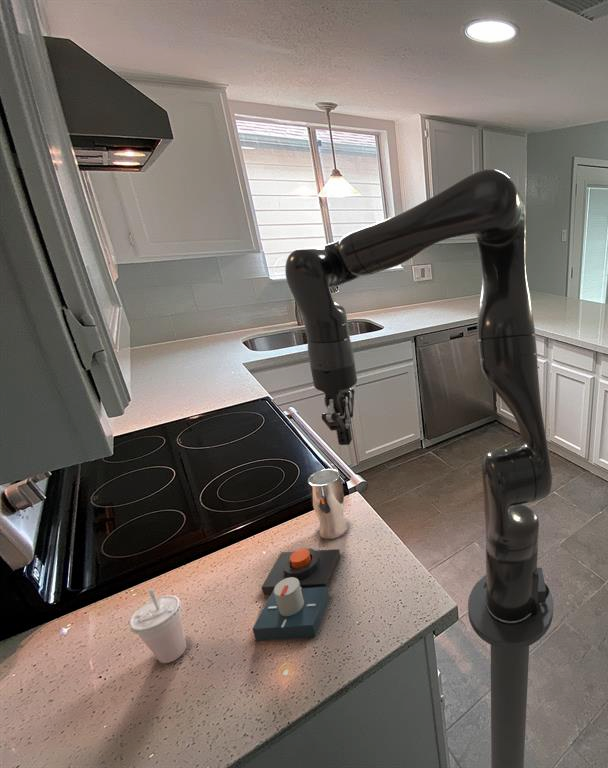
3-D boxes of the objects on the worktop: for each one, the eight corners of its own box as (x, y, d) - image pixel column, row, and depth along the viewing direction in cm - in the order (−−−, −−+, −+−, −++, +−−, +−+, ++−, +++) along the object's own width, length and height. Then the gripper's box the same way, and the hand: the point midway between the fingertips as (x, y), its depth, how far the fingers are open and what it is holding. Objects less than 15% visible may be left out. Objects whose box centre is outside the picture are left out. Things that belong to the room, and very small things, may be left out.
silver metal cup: (330, 545, 92) (319, 490, 86) (311, 533, 96) (299, 479, 90) (355, 526, 98) (347, 474, 92) (337, 516, 101) (327, 464, 95)
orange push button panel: (340, 556, 89) (338, 542, 88) (327, 591, 81) (323, 576, 79) (283, 559, 88) (279, 545, 87) (263, 595, 80) (259, 580, 78)
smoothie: (203, 646, 70) (179, 586, 65) (158, 679, 65) (129, 617, 60) (185, 628, 73) (161, 569, 68) (141, 658, 68) (111, 598, 63)
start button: (313, 554, 85) (312, 548, 84) (307, 568, 82) (305, 561, 81) (295, 555, 85) (294, 549, 84) (288, 569, 81) (286, 562, 81)
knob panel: (330, 597, 80) (327, 585, 78) (315, 637, 72) (312, 624, 71) (276, 600, 79) (273, 588, 78) (255, 641, 71) (251, 629, 70)
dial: (284, 598, 76) (278, 577, 74) (307, 595, 76) (301, 574, 74) (275, 617, 72) (269, 595, 70) (299, 615, 73) (294, 593, 71)
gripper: (323, 350, 81) (336, 427, 87) (296, 374, 69) (314, 462, 75) (362, 350, 81) (372, 426, 88) (343, 373, 69) (356, 460, 76)
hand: (345, 443), depth 82 cm, fingers closed
